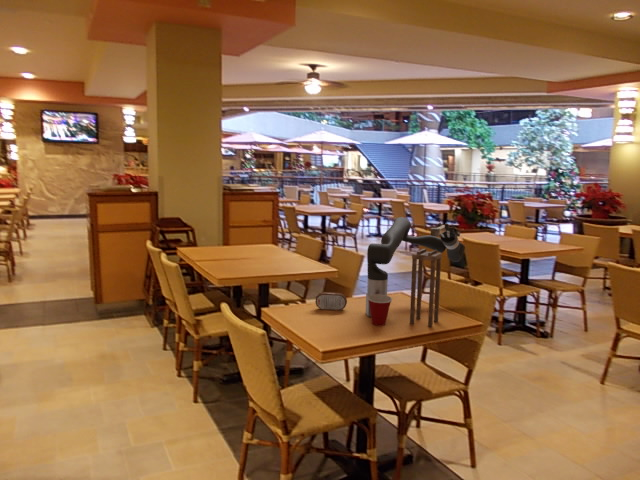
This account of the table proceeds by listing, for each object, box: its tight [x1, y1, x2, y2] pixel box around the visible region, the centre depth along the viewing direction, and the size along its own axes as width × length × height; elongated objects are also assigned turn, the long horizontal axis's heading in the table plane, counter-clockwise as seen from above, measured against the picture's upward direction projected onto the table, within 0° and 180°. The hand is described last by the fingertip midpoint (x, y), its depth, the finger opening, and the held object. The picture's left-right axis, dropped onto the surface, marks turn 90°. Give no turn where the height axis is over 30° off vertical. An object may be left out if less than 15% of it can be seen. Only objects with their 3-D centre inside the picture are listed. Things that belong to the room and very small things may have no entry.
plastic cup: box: [367, 294, 393, 327], centre depth 230 cm, size 11×11×12 cm
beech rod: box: [430, 224, 446, 237], centre depth 245 cm, size 3×18×3 cm, turn 152°
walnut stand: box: [409, 248, 443, 328], centre depth 232 cm, size 10×10×32 cm
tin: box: [314, 291, 348, 312], centre depth 252 cm, size 15×3×8 cm, turn 84°
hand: (442, 225), depth 248 cm, fingers closed on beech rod, 2 cm apart
